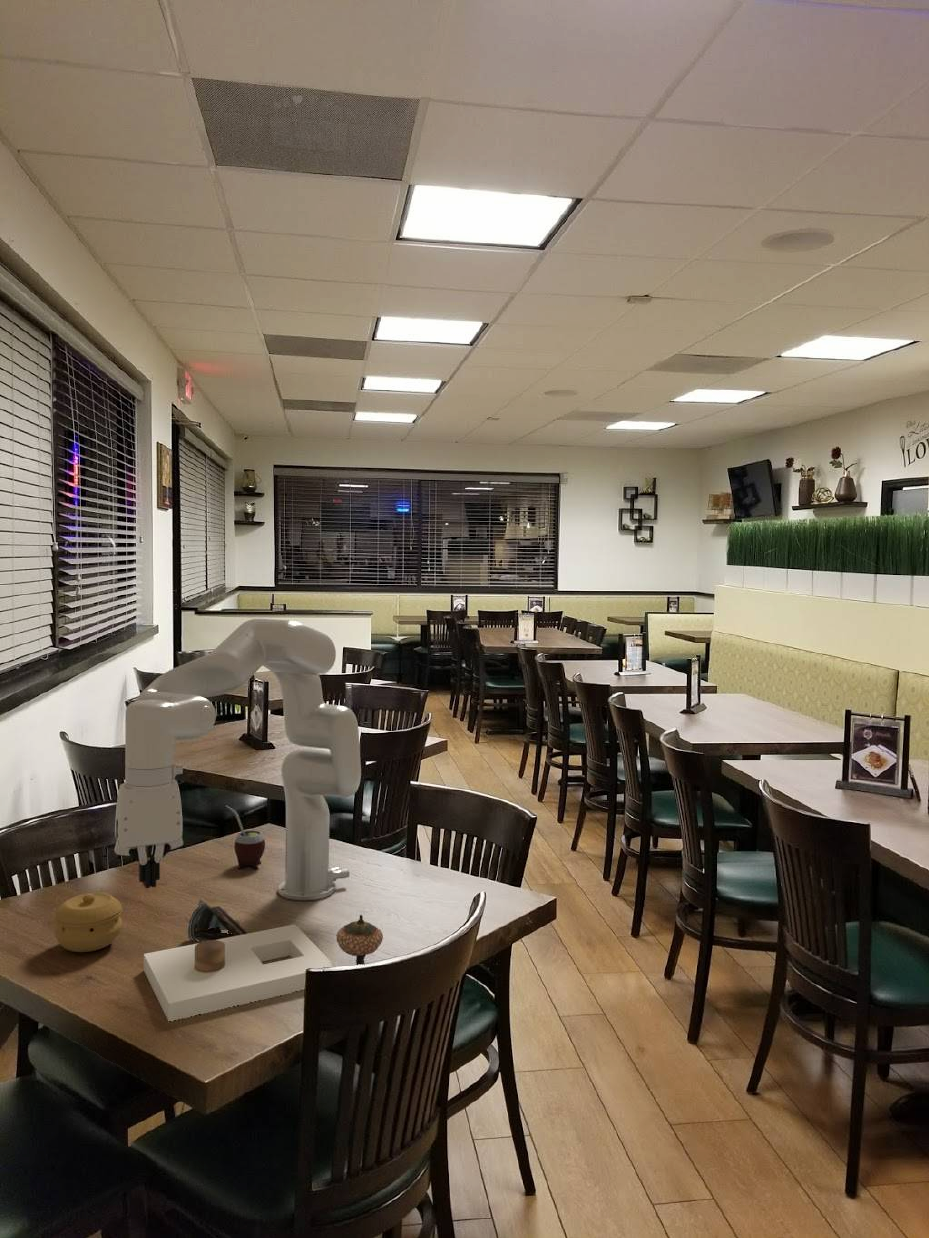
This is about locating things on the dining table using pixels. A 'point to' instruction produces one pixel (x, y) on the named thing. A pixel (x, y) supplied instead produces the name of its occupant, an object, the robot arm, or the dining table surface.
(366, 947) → the acorn
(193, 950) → the plate
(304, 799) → the robot arm
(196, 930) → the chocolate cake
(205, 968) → the brown wooden cylinder
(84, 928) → the pot
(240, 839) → the mate gourd
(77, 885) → the dining table surface
